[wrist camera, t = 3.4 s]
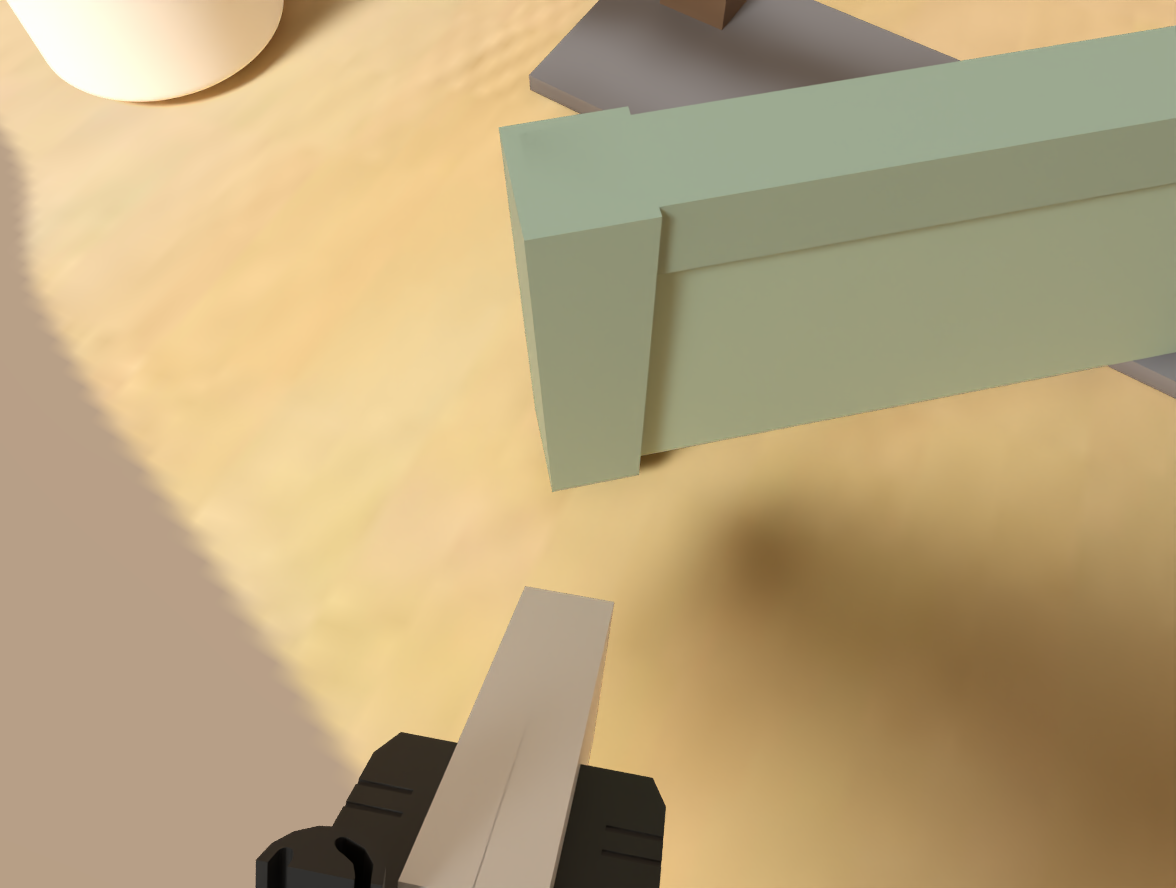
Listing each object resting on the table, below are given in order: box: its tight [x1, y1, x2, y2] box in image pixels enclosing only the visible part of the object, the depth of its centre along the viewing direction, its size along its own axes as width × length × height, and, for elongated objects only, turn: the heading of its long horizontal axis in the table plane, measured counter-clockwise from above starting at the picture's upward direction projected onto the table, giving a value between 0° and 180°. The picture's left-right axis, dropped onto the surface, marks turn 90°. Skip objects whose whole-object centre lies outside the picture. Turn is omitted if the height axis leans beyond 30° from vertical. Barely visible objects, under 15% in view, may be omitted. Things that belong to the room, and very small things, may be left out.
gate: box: [499, 26, 1176, 492], centre depth 20 cm, size 2×22×10 cm, turn 102°
